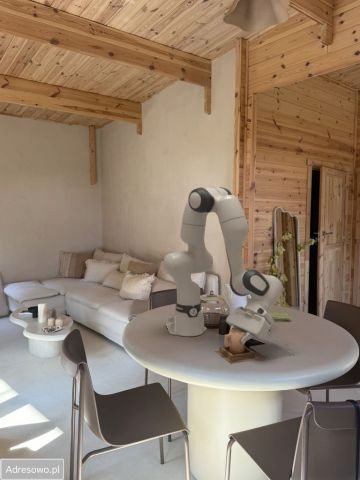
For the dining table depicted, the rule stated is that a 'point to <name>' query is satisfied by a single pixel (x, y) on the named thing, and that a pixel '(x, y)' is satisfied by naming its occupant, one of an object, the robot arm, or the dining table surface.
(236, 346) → the orange mug
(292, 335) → the dining table surface
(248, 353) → the walnut stand
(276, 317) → the washcloth
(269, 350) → the charcoal board
